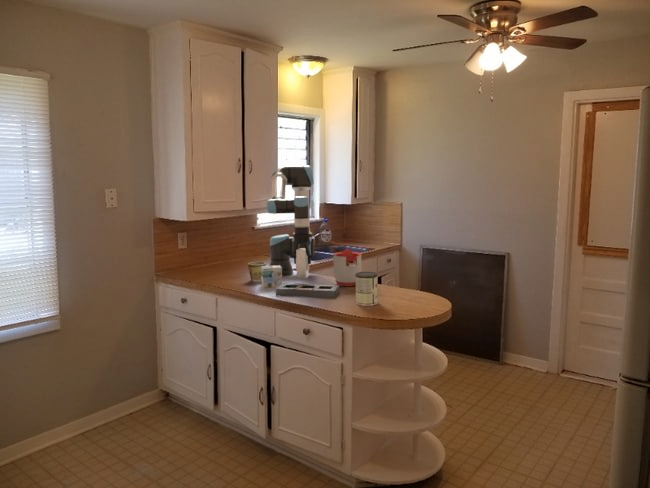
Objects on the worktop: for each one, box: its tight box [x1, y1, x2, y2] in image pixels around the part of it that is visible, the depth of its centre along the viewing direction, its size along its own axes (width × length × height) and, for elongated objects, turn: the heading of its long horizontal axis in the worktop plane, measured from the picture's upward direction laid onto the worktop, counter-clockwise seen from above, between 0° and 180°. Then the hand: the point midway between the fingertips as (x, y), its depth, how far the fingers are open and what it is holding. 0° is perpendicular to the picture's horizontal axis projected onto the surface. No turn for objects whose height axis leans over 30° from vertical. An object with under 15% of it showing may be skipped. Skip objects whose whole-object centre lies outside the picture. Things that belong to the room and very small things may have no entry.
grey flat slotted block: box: [275, 282, 341, 299], centre depth 278 cm, size 13×30×4 cm, turn 77°
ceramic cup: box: [247, 261, 266, 283], centre depth 313 cm, size 13×10×10 cm
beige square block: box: [296, 248, 310, 279], centre depth 289 cm, size 5×5×15 cm
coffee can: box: [355, 271, 379, 307], centre depth 256 cm, size 10×10×14 cm
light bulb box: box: [260, 265, 283, 289], centre depth 296 cm, size 11×7×11 cm, turn 105°
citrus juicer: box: [332, 248, 362, 287], centre depth 296 cm, size 16×17×20 cm
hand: (302, 269), depth 290 cm, fingers closed on beige square block, 5 cm apart
